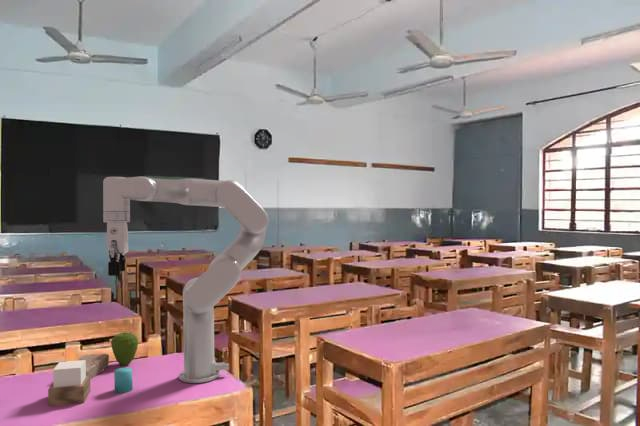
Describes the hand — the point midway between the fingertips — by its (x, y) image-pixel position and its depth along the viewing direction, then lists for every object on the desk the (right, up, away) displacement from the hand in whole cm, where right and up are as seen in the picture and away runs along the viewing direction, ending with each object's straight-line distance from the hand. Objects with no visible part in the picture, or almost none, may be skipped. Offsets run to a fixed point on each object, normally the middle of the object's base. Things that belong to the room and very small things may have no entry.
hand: (117, 273), depth 154 cm
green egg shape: (-5, -34, +20) cm, 40 cm away
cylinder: (+4, -34, -4) cm, 35 cm away
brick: (-14, -35, +10) cm, 39 cm away
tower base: (-9, -35, -10) cm, 38 cm away
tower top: (-9, -30, -10) cm, 33 cm away
